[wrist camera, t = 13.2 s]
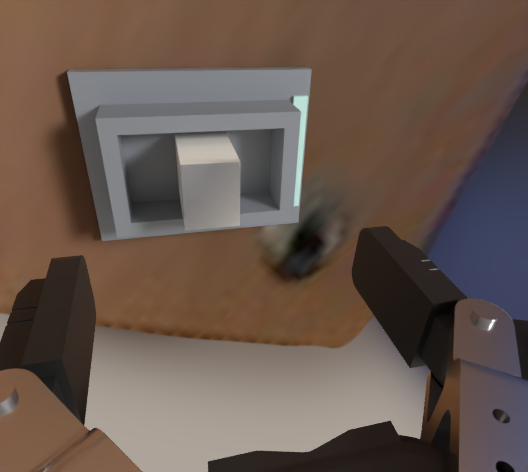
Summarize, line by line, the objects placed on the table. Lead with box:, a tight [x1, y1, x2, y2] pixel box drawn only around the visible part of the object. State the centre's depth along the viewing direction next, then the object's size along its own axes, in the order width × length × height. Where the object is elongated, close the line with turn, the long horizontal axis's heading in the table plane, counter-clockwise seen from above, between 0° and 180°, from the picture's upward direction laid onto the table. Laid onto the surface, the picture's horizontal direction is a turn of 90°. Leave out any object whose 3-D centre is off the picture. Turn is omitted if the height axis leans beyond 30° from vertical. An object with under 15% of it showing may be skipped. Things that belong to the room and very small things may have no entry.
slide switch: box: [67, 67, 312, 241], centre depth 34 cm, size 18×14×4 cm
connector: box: [174, 131, 241, 231], centre depth 32 cm, size 4×5×7 cm
